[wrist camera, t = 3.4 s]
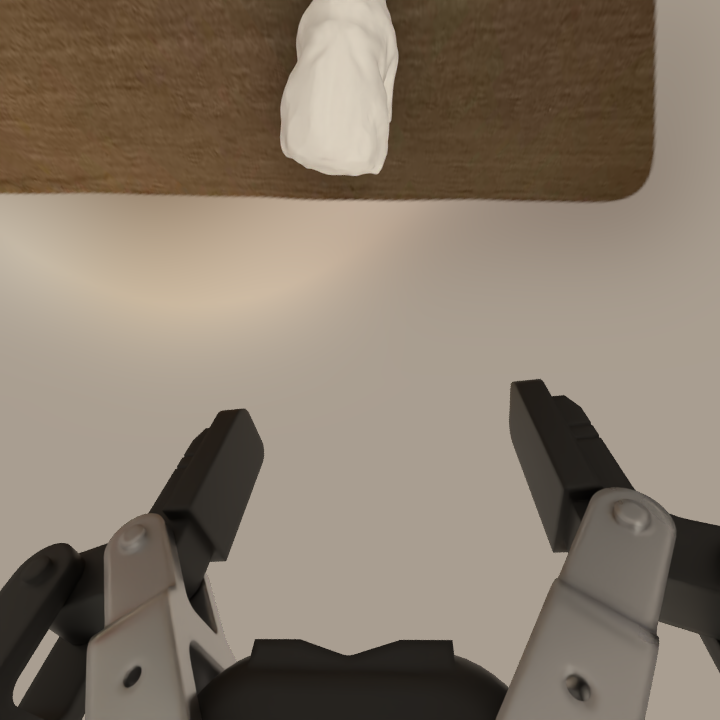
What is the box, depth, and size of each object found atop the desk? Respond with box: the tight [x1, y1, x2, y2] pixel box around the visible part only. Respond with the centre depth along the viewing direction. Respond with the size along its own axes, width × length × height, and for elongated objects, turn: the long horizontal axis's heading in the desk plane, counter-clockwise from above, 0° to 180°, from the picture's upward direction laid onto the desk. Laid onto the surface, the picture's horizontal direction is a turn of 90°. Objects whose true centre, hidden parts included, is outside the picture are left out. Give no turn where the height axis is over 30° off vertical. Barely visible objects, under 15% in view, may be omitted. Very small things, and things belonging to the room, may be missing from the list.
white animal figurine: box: [280, 0, 398, 176], centre depth 20 cm, size 6×8×12 cm
